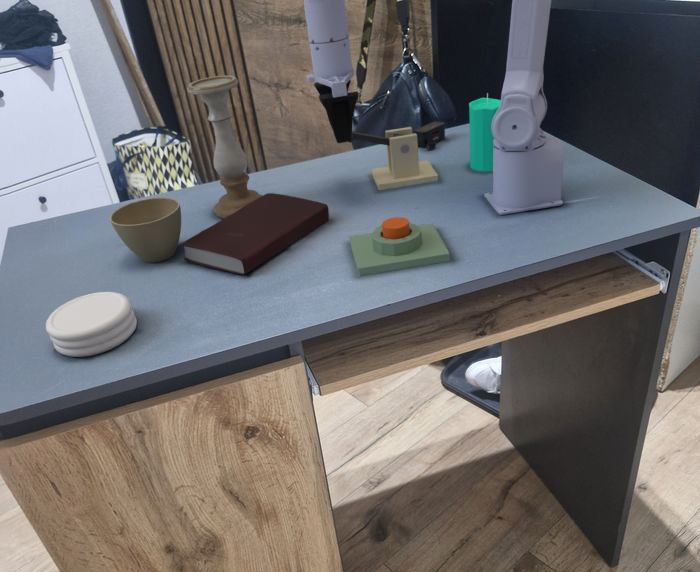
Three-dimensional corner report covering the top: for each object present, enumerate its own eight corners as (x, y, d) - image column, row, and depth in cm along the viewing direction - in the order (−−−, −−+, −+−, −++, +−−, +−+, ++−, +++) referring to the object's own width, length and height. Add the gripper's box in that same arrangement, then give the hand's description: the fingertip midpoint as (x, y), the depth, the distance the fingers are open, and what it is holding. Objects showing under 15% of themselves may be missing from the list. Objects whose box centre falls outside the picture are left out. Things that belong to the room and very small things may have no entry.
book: (331, 221, 98) (328, 201, 96) (246, 278, 86) (241, 256, 84) (270, 210, 105) (266, 191, 103) (183, 262, 93) (177, 241, 91)
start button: (407, 227, 87) (406, 215, 86) (412, 238, 84) (411, 225, 83) (381, 231, 87) (379, 219, 86) (385, 242, 84) (384, 230, 83)
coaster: (58, 369, 73) (46, 344, 71) (52, 330, 81) (41, 306, 79) (144, 340, 76) (135, 315, 74) (131, 305, 84) (122, 281, 82)
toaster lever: (345, 146, 103) (348, 131, 101) (342, 137, 107) (345, 122, 105) (410, 156, 105) (414, 142, 104) (405, 147, 109) (408, 133, 108)
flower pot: (133, 278, 90) (116, 231, 86) (120, 253, 98) (104, 209, 94) (200, 256, 94) (187, 210, 90) (182, 234, 101) (169, 191, 97)
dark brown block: (411, 149, 122) (410, 132, 120) (435, 138, 125) (434, 121, 124) (430, 152, 119) (429, 135, 117) (454, 141, 122) (453, 124, 121)
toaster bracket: (379, 191, 106) (374, 144, 102) (372, 175, 113) (367, 130, 108) (438, 182, 106) (436, 134, 102) (427, 166, 113) (425, 121, 108)
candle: (465, 163, 112) (464, 91, 105) (499, 158, 112) (500, 86, 105) (474, 174, 107) (474, 100, 100) (510, 169, 107) (511, 94, 100)
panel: (433, 230, 91) (432, 210, 90) (450, 261, 83) (449, 240, 81) (350, 244, 91) (347, 224, 89) (359, 276, 83) (356, 255, 81)
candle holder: (234, 197, 112) (205, 74, 100) (276, 200, 108) (252, 73, 97) (205, 218, 106) (170, 89, 94) (249, 221, 102) (219, 88, 91)
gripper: (298, 35, 98) (312, 126, 105) (304, 52, 86) (319, 152, 93) (344, 28, 98) (354, 119, 105) (356, 44, 86) (367, 145, 94)
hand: (341, 134), depth 99 cm, fingers open, 7 cm apart
